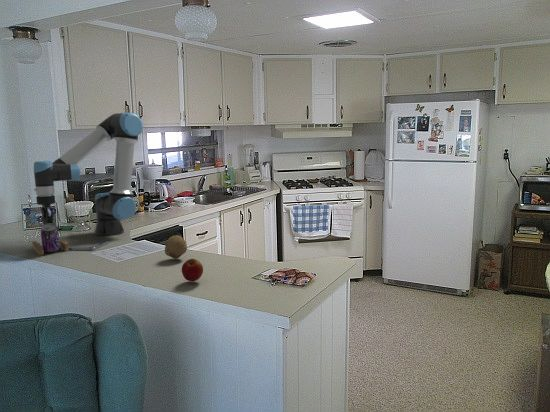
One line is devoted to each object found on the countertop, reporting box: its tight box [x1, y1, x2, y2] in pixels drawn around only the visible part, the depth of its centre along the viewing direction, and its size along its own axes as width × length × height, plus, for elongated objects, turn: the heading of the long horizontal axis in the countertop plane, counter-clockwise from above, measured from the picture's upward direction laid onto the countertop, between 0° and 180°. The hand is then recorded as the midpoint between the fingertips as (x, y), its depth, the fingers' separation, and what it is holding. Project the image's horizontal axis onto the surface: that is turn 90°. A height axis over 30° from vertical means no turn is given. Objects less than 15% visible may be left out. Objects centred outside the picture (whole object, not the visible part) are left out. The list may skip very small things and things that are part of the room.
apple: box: [181, 258, 204, 282], centre depth 163 cm, size 8×8×8 cm
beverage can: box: [40, 222, 61, 253], centre depth 205 cm, size 7×7×12 cm
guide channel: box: [31, 237, 70, 257], centre depth 211 cm, size 12×16×4 cm
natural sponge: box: [164, 235, 188, 259], centre depth 192 cm, size 9×9×10 cm
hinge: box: [68, 240, 108, 252], centre depth 213 cm, size 11×19×1 cm, turn 128°
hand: (49, 245), depth 211 cm, fingers closed
